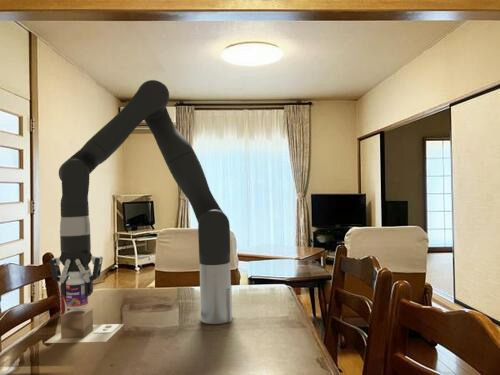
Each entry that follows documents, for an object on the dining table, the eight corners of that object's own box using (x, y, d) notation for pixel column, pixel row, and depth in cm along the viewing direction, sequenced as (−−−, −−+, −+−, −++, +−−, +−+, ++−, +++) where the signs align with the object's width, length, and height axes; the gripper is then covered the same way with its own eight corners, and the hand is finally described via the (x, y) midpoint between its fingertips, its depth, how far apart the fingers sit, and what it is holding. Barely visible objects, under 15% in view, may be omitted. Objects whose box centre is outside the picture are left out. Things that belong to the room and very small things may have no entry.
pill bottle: (62, 309, 109) (61, 272, 109) (75, 303, 115) (74, 268, 115) (79, 310, 108) (78, 272, 108) (92, 304, 113) (91, 268, 113)
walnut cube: (93, 330, 114) (92, 308, 114) (83, 338, 108) (83, 315, 108) (71, 330, 114) (71, 309, 114) (61, 338, 108) (60, 315, 108)
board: (124, 328, 119) (124, 324, 119) (106, 346, 105) (106, 341, 105) (69, 329, 119) (69, 325, 119) (44, 347, 105) (43, 342, 105)
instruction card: (120, 324, 118) (120, 323, 118) (111, 333, 111) (111, 331, 111) (102, 325, 119) (102, 324, 119) (92, 333, 112) (93, 332, 112)
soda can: (72, 321, 127) (71, 282, 127) (57, 320, 128) (56, 282, 128) (82, 316, 132) (81, 278, 133) (67, 315, 133) (66, 278, 134)
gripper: (106, 231, 115) (108, 292, 115) (56, 232, 115) (57, 293, 115) (96, 233, 108) (98, 299, 107) (41, 235, 108) (43, 300, 108)
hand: (77, 295), depth 111 cm, fingers closed on pill bottle, 5 cm apart
